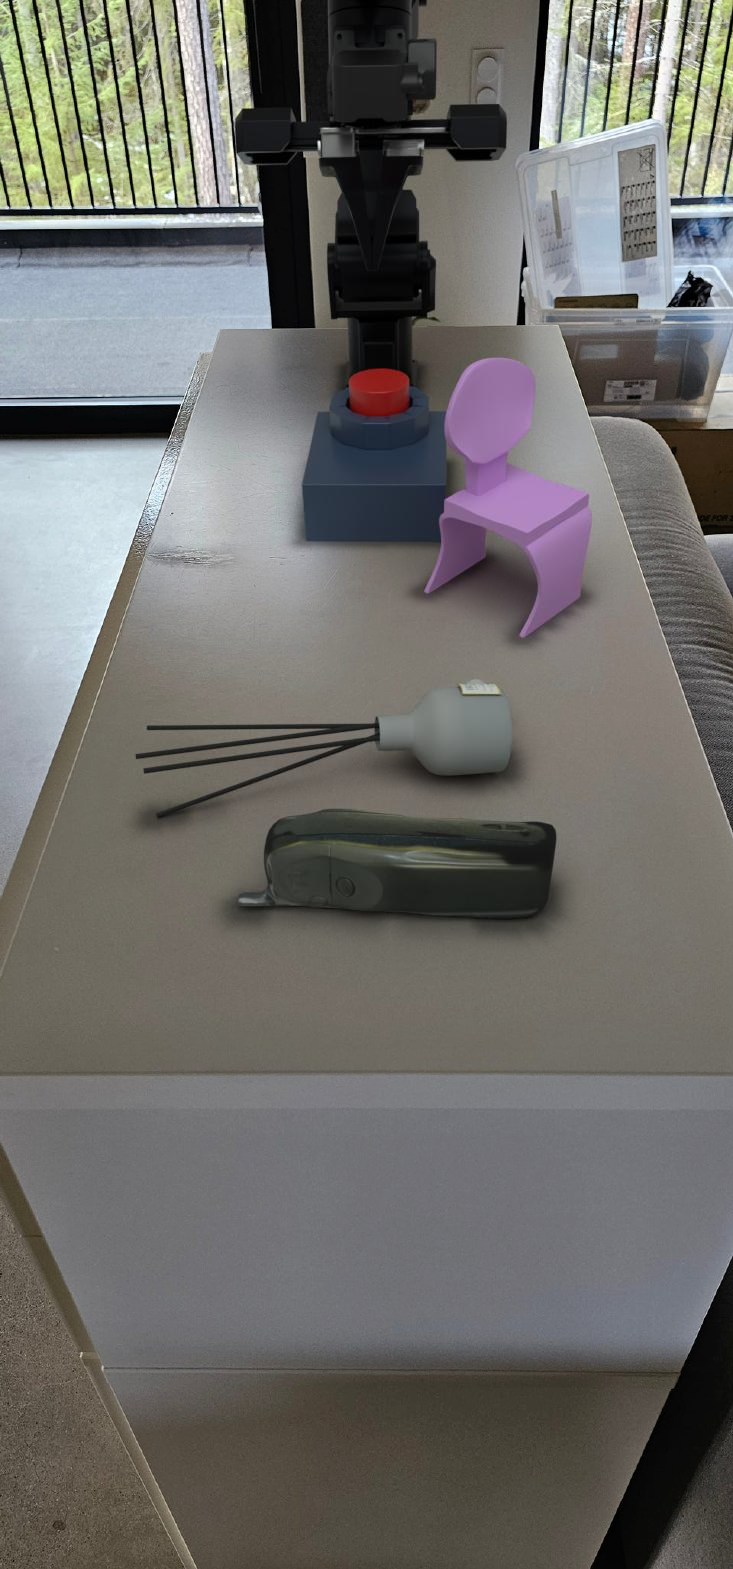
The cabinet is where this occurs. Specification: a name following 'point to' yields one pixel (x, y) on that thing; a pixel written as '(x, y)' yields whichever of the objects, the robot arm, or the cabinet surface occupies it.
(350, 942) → the cabinet surface
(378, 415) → the button
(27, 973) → the cabinet surface
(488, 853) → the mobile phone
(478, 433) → the toy chair
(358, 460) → the switch box
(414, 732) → the reed diffuser
